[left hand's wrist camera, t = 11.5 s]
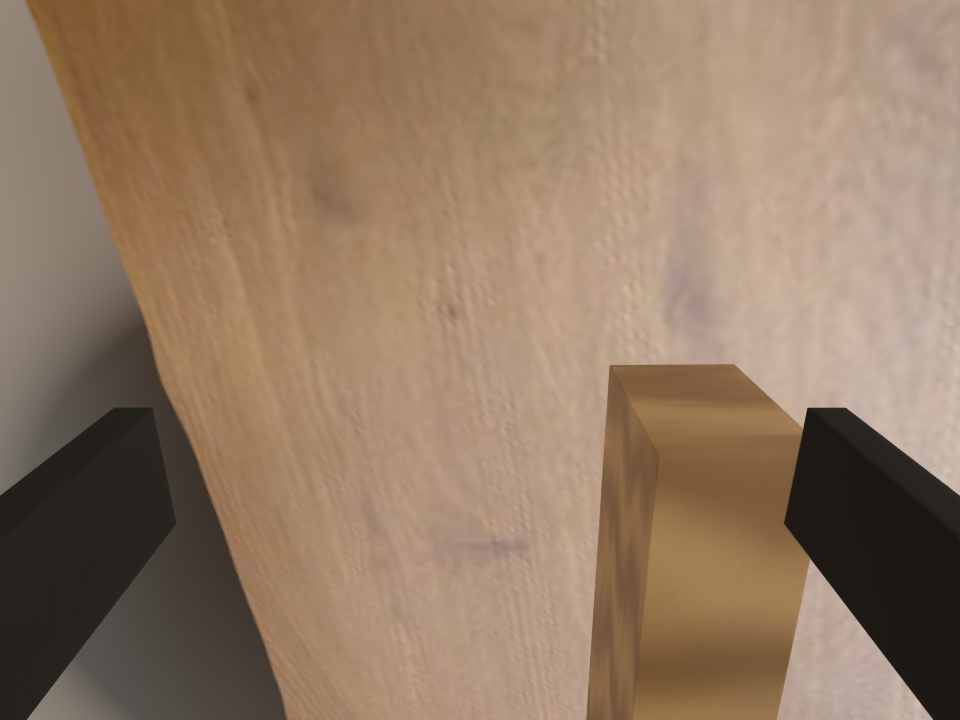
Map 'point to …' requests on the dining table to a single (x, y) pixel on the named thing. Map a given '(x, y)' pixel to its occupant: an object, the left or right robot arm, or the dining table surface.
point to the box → (694, 548)
